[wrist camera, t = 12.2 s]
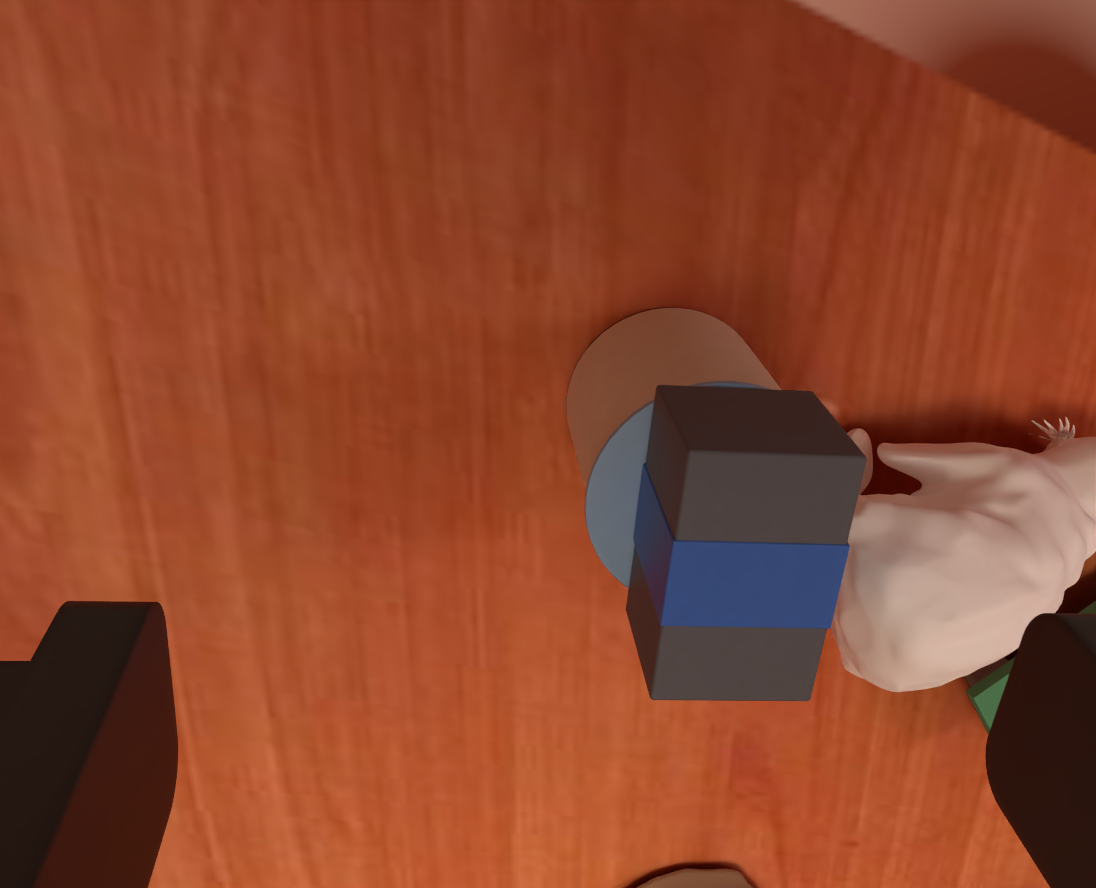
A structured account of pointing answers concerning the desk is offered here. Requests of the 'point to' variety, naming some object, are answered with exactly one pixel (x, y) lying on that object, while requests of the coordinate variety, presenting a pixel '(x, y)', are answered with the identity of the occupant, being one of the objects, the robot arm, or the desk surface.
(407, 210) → the desk surface
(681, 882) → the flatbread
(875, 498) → the white lumpy elongated piece
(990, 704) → the circuit board
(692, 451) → the block
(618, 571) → the yogurt
